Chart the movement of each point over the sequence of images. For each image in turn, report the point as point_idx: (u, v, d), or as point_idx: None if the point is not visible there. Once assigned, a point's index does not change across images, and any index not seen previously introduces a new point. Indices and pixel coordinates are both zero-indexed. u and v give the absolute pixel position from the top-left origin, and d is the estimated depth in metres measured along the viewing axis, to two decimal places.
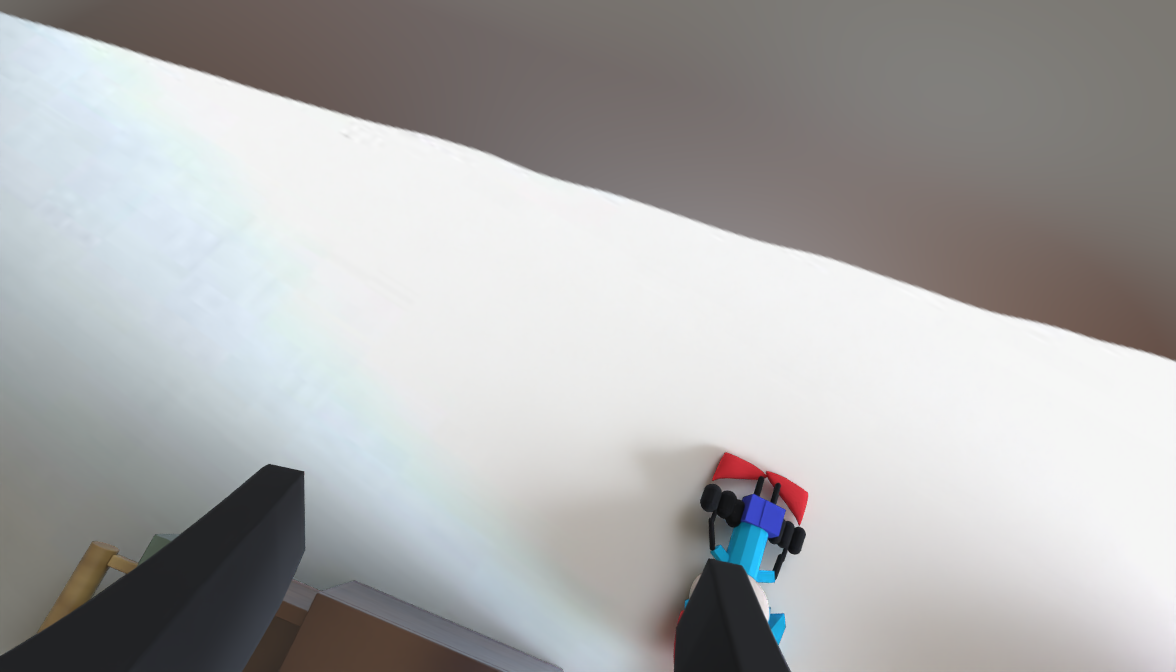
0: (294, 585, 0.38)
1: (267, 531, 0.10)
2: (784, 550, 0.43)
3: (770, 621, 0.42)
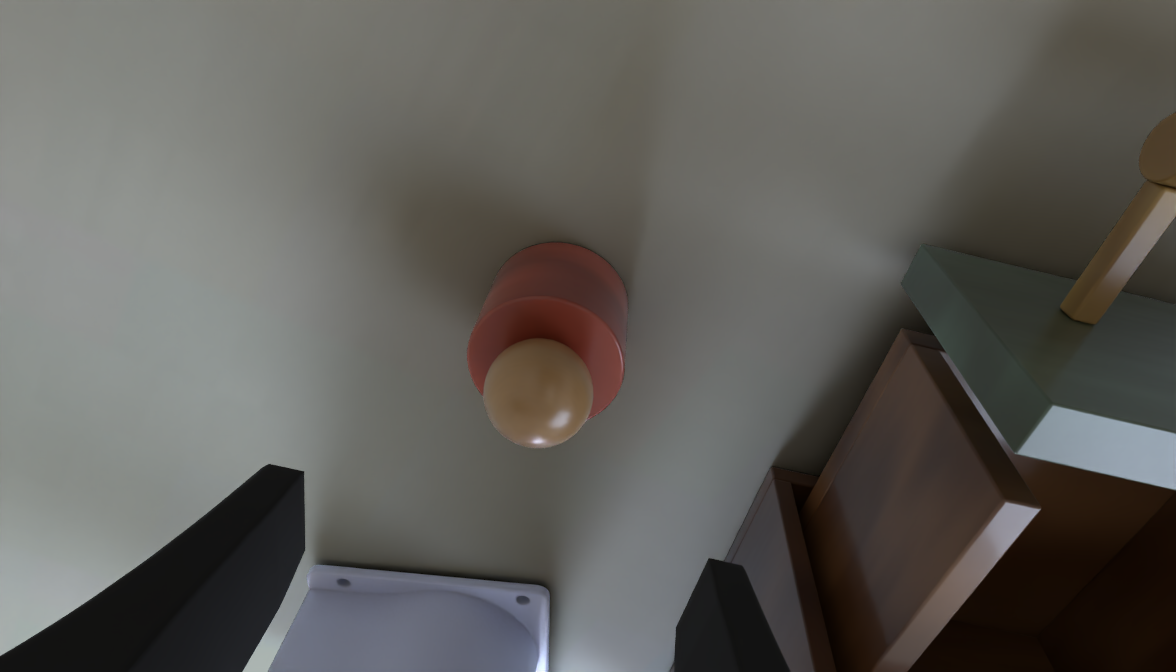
0: None
1: (267, 531, 0.10)
2: None
3: None
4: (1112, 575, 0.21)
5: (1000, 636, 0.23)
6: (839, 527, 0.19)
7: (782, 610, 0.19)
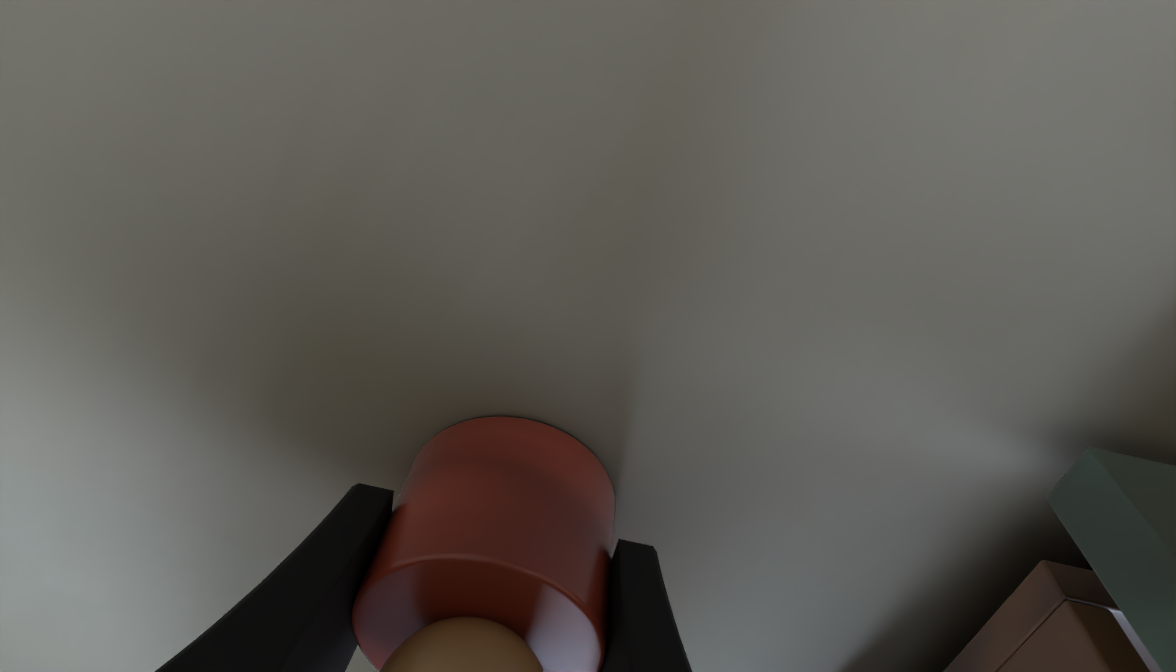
0: None
1: (366, 551, 0.10)
2: None
3: None
4: None
5: None
6: None
7: None
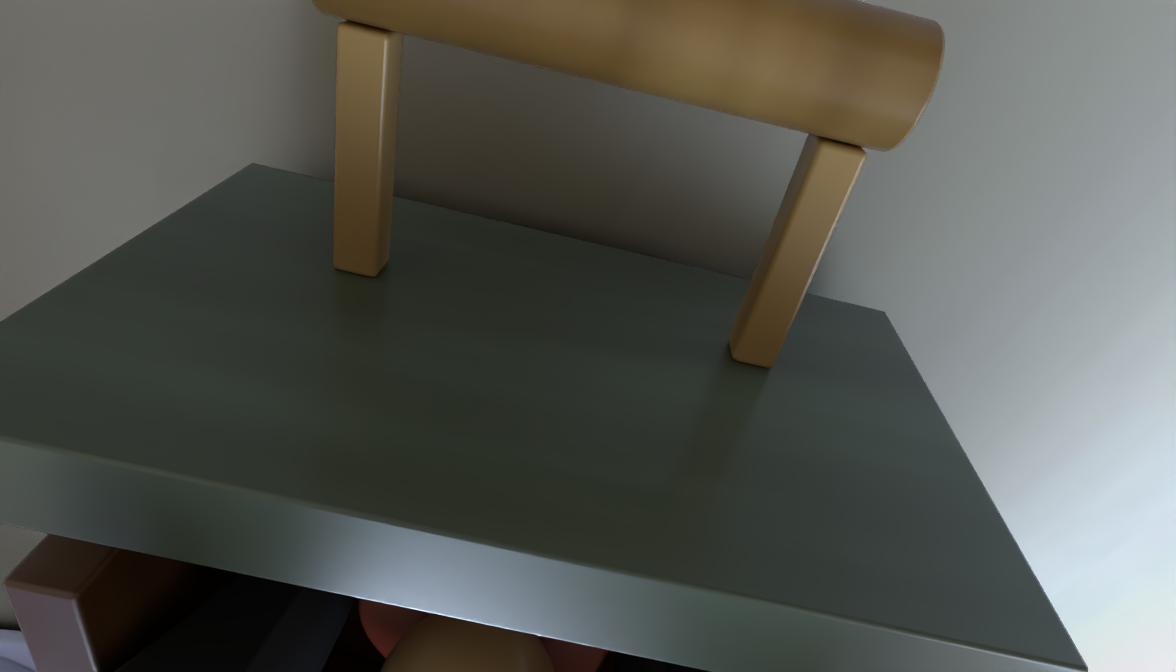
0: None
1: None
2: None
3: None
4: None
5: None
6: None
7: None
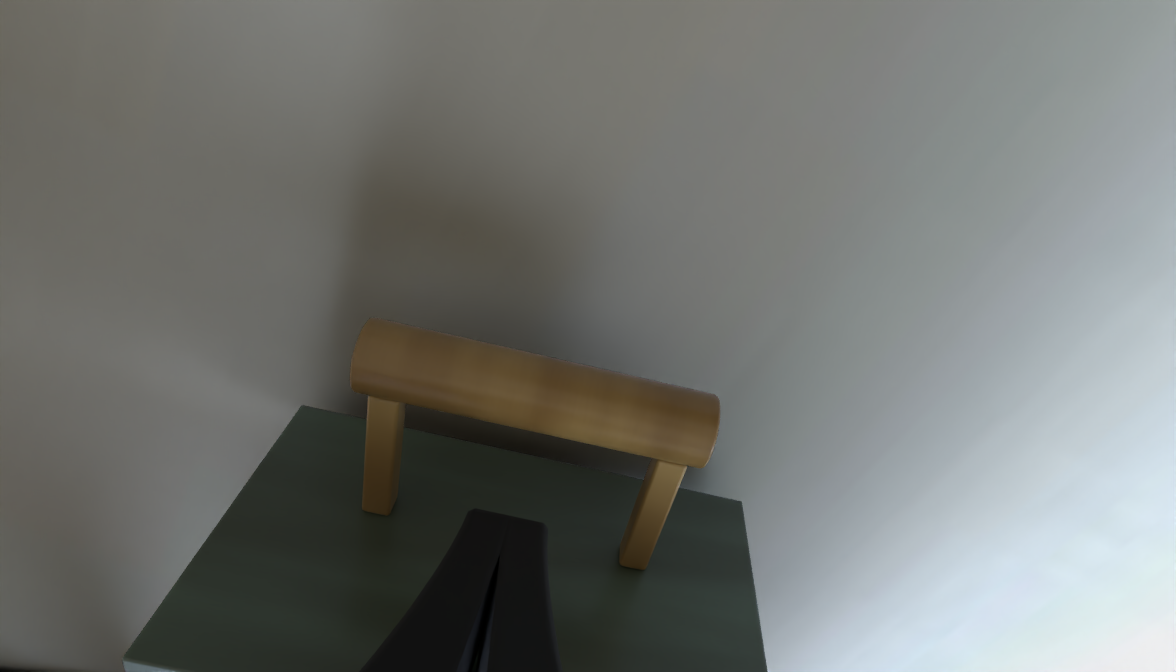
0: None
1: (492, 578, 0.11)
2: None
3: None
4: None
5: None
6: None
7: None
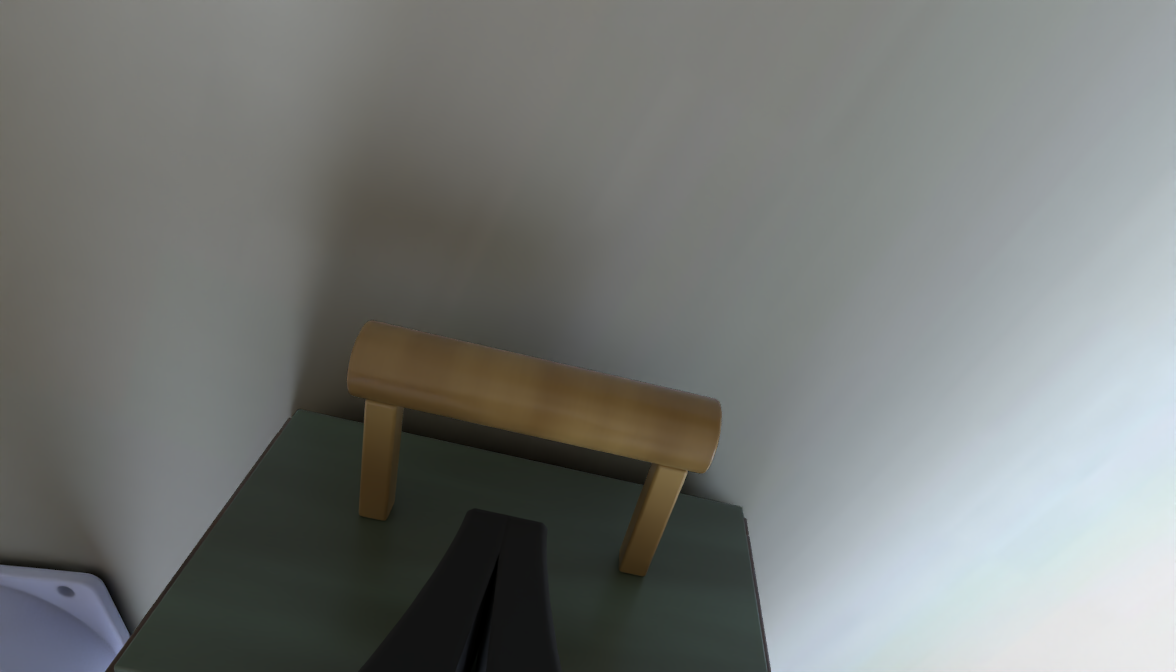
0: None
1: (492, 578, 0.11)
2: None
3: None
4: None
5: None
6: None
7: None
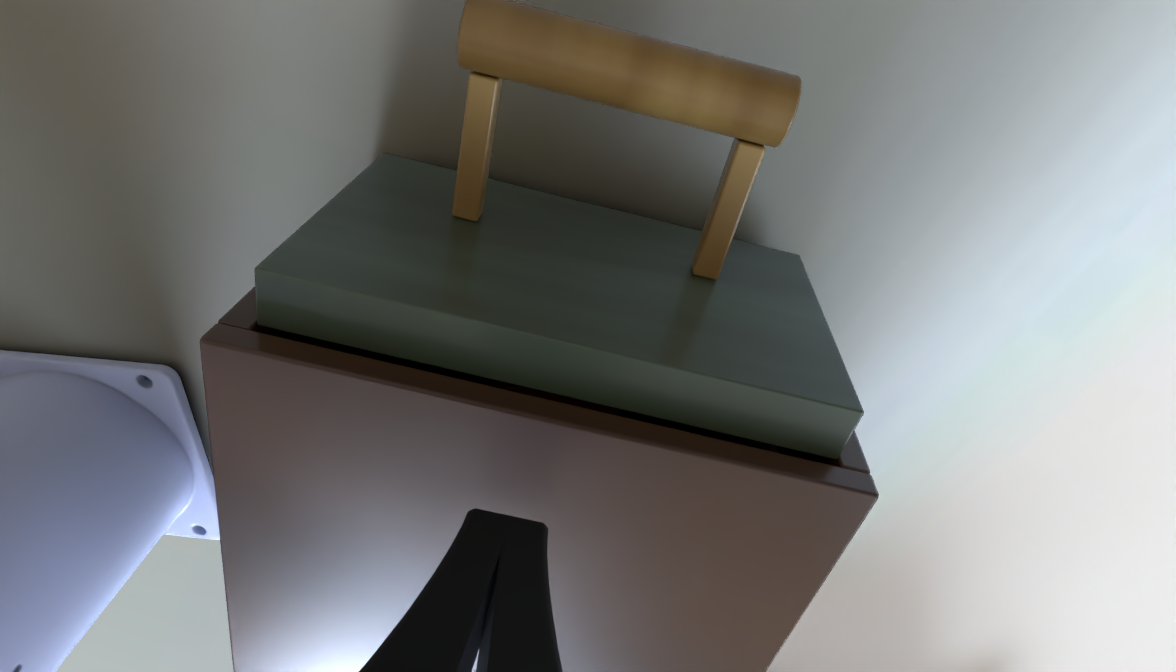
0: None
1: (493, 578, 0.11)
2: None
3: None
4: None
5: None
6: None
7: None
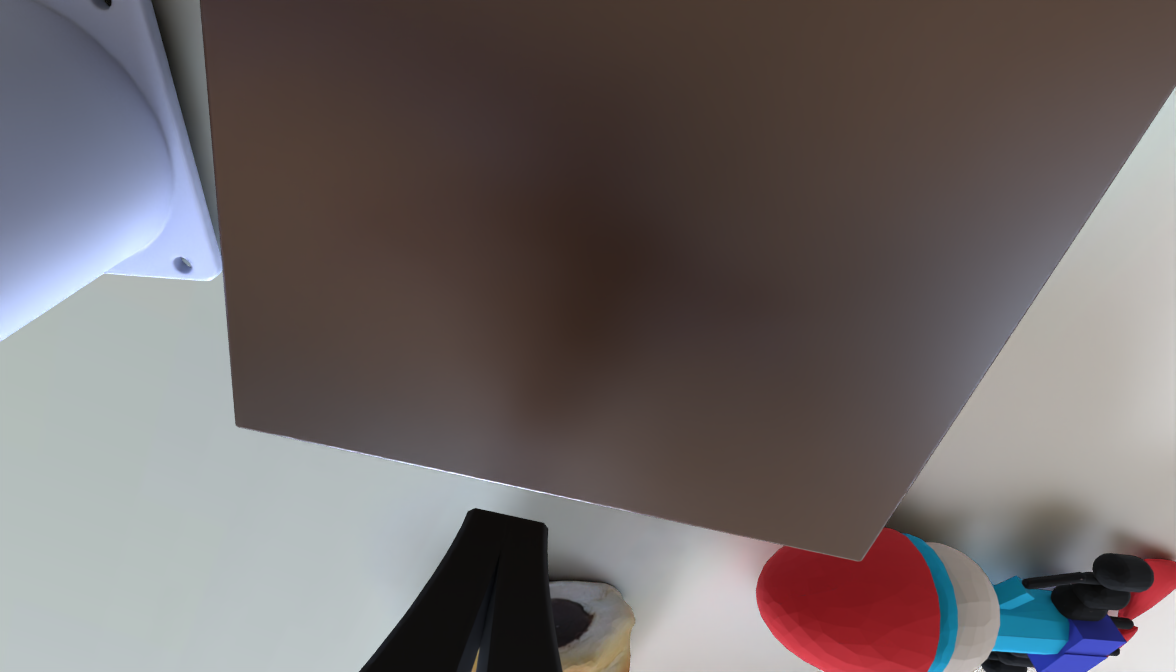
0: None
1: (493, 578, 0.11)
2: (993, 656, 0.25)
3: None
4: None
5: None
6: None
7: None
